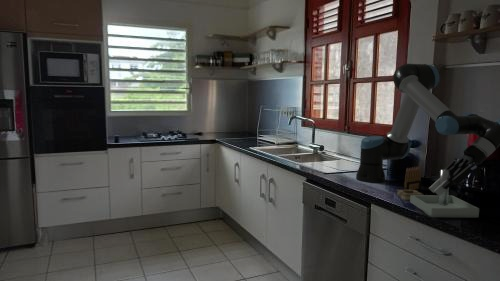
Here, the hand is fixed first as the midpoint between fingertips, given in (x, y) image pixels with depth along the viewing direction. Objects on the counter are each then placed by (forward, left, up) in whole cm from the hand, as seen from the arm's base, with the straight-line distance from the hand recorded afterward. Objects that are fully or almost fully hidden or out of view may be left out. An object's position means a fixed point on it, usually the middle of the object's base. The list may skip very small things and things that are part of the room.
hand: (434, 191), depth 146 cm
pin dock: (-16, -2, -7) cm, 18 cm away
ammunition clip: (-29, +5, -8) cm, 30 cm away
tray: (0, +4, -7) cm, 8 cm away
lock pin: (0, +4, -5) cm, 6 cm away
